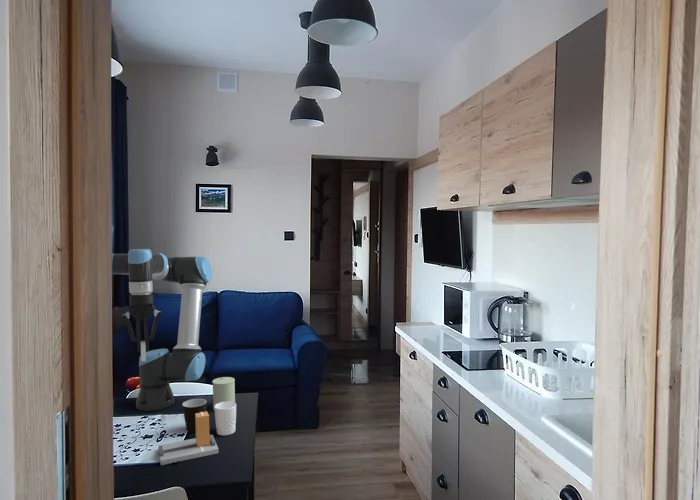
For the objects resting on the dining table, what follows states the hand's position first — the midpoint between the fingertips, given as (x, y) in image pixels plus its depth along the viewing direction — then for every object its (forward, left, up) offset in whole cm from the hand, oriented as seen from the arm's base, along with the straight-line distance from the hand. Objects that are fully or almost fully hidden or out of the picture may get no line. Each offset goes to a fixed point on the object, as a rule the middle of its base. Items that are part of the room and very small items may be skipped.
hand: (143, 360), depth 166 cm
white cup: (+4, +27, -30) cm, 40 cm away
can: (-21, +31, -30) cm, 48 cm away
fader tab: (+14, +17, -28) cm, 35 cm away
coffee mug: (-5, +18, -30) cm, 35 cm away
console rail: (+14, +12, -29) cm, 35 cm away
